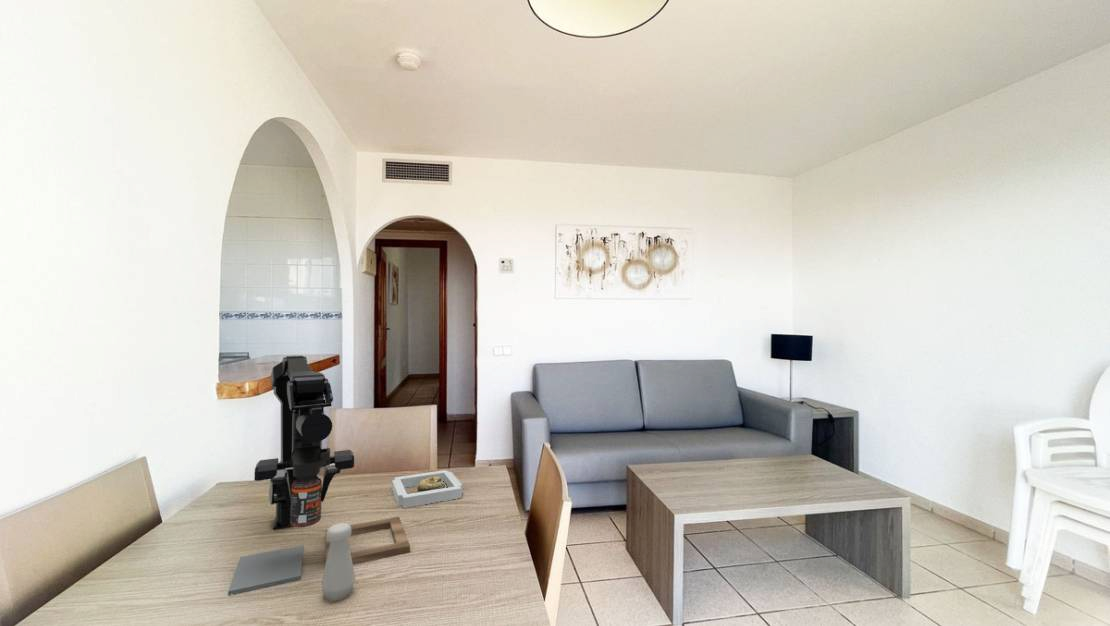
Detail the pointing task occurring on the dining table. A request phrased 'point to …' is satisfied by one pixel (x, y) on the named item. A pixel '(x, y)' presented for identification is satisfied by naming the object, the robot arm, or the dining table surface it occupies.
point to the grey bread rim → (426, 496)
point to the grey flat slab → (267, 569)
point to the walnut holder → (382, 551)
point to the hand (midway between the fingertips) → (306, 503)
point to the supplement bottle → (305, 501)
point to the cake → (430, 484)
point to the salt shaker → (338, 564)
